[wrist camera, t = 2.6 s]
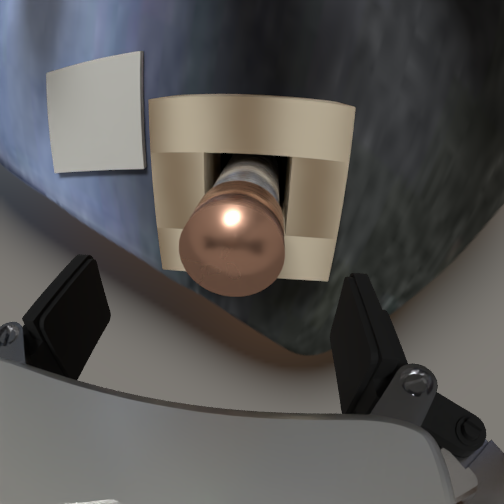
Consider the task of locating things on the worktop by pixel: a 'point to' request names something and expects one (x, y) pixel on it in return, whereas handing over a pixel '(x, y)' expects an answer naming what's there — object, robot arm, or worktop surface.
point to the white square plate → (97, 114)
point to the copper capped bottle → (237, 229)
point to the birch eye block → (254, 142)
